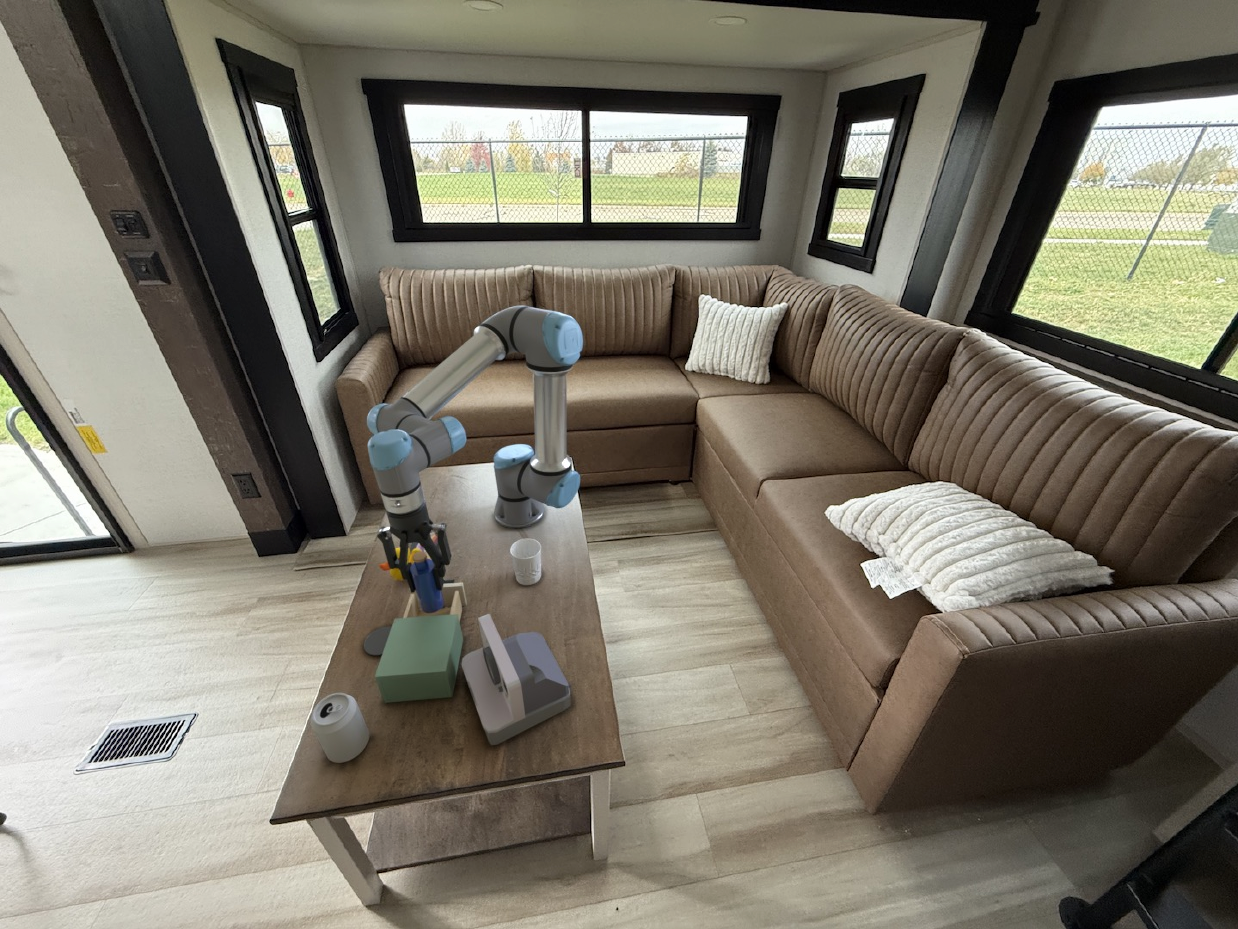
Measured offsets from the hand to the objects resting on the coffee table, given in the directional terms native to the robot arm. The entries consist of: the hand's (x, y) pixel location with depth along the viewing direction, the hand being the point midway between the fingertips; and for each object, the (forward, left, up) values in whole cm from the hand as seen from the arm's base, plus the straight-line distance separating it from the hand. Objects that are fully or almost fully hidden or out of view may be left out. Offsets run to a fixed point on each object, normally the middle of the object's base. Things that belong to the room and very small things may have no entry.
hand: (427, 586), depth 112 cm
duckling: (-18, -11, -13) cm, 25 cm away
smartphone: (-28, -9, -13) cm, 32 cm away
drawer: (-2, 0, -12) cm, 12 cm away
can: (+27, -11, -13) cm, 32 cm away
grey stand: (+18, +20, -13) cm, 30 cm away
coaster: (+3, -12, -13) cm, 18 cm away
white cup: (-15, +21, -13) cm, 29 cm away
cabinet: (+12, 0, -13) cm, 18 cm away
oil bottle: (0, 0, -6) cm, 6 cm away
